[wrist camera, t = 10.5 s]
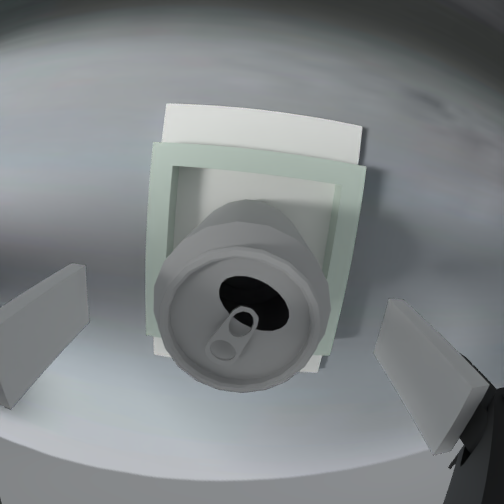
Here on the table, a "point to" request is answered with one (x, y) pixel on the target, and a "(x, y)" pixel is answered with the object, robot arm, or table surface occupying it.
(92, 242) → the table surface
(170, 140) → the green and white tray
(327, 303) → the can
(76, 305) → the robot arm
